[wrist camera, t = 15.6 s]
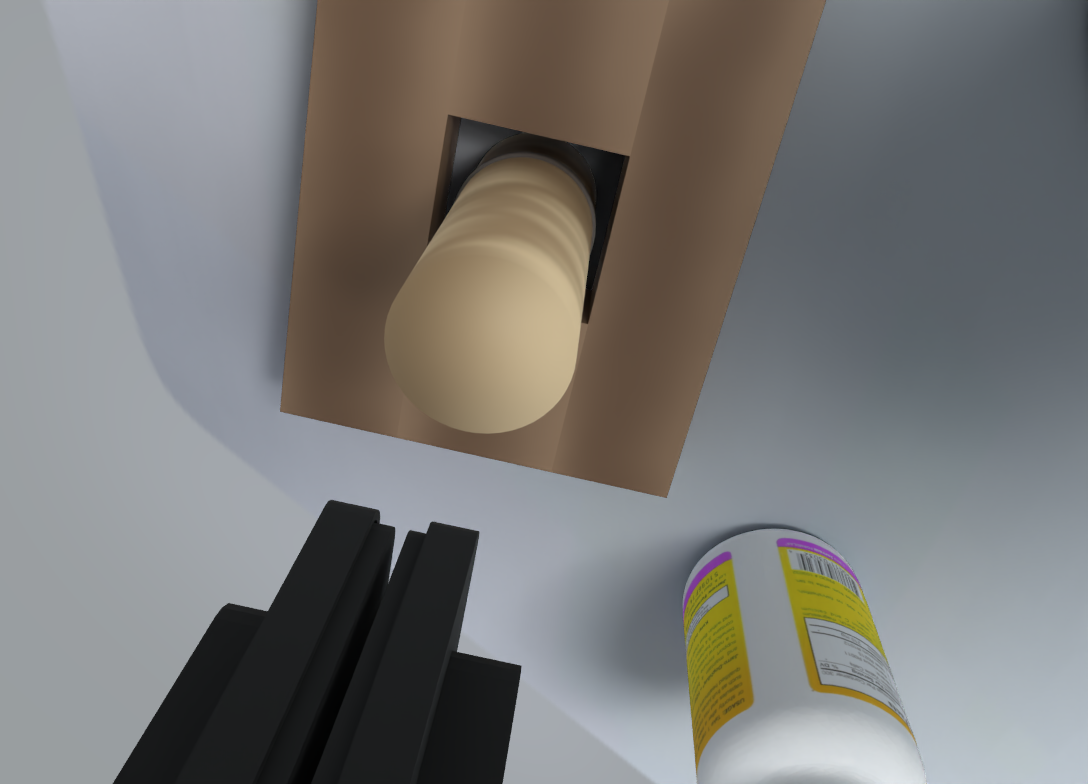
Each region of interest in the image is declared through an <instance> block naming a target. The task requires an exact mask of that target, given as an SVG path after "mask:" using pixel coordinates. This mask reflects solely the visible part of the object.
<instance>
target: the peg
mask: <svg viewBox="0 0 1088 784" xmlns="http://www.w3.org/2000/svg"><path fill="white" fill-rule="evenodd" d="M596 201H597V192H596V184H595V180H594V177H593V174H592V171H591V169H590V167H589V165H588V164H587V162H586V161H585V159H584V158H583V156H582V155H581V154H580V153H579V152H578V151H577V150H576V149H575V148H573V147H572V146H571V145H570V144H568V143H567V142H565V141H561V140H557V139H553V138H548V137H544V136H540V135H535V134H531V133H522V134H518V135H514V136H511V137H509V138H506V139H504V140H502V141H501V142H499V143H498V144H496V145H495V146H494V147H492V148H491V149H490V150H489V151H488V152H487V153H486V155H485V156H484V157H483V159H482V160H481V161H480V163H479V165H478V166H477V168H476V169H475V170H474V171H473V172H472V173H471V174H470V175H469V176H468V178H467V179H466V180H465V182H464V183H463V185H462V187H461V188H460V190H459V192H458V194H457V196H456V199H455V201H454V205H453V206H452V208H451V209H450V211H449V213H448V214H447V216H446V217H445V219H444V221H443V222H442V224H441V225H440V227H439V229H438V230H437V232H436V233H435V235H434V237H433V238H432V240H431V241H430V243H429V245H428V246H427V248H426V249H425V251H424V253H423V254H422V256H421V257H420V259H419V261H418V262H417V264H416V265H415V267H414V269H413V270H412V272H411V273H410V275H409V277H408V278H407V280H406V281H405V283H404V285H403V286H402V288H401V289H400V291H399V293H398V294H397V296H396V298H395V300H394V301H393V303H392V305H391V308H390V310H389V313H388V316H387V320H386V325H385V334H384V344H385V353H386V357H387V362H388V365H389V368H390V370H391V373H392V375H393V377H394V379H395V381H396V383H397V384H398V386H399V387H400V389H401V390H402V392H403V393H404V394H405V396H406V397H407V398H408V399H409V400H410V401H411V402H412V403H413V404H414V405H415V406H416V407H417V408H418V409H419V410H421V411H422V412H423V413H425V414H426V415H428V416H429V417H431V418H432V419H434V420H436V421H438V422H440V423H442V424H444V425H447V426H449V427H452V428H455V429H458V430H462V431H466V432H472V433H485V434H490V433H502V432H507V431H512V430H515V429H518V428H522V427H524V426H526V425H528V424H531V423H533V422H534V421H536V420H538V419H539V418H541V417H542V416H544V415H545V414H546V413H547V412H549V411H550V410H551V409H552V408H553V407H554V406H555V405H556V404H557V403H558V402H559V400H560V399H561V398H562V396H563V395H564V393H565V392H566V390H567V388H568V386H569V384H570V382H571V379H572V376H573V373H574V370H575V365H576V359H577V351H578V343H579V336H580V328H581V320H582V312H583V304H584V296H585V288H586V281H587V273H588V265H589V257H590V253H591V250H592V247H593V244H594V239H595V232H596V216H595V210H596Z"/></svg>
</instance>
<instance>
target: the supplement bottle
mask: <svg viewBox="0 0 1088 784" xmlns="http://www.w3.org/2000/svg"><path fill="white" fill-rule="evenodd" d="M683 623H684V635H685V647H686V658H687V671H688V681H689V694H690V705H691V717H692V728H693V740H694V750H695V763H696V775H697V784H927V781H926V774H925V769H924V765H923V762H922V759H921V756H920V753H919V750H918V747H917V744H916V741H915V738H914V735H913V732H912V730H911V727H910V724H909V722H908V719H907V716H906V713H905V710H904V707H903V704H902V702H901V699H900V696H899V693H898V691H897V687H896V684H895V682H894V679H893V676H892V673H891V670H890V667H889V664H888V662H887V659H886V656H885V653H884V650H883V648H882V645H881V642H880V639H879V636H878V633H877V630H876V627H875V625H874V622H873V619H872V616H871V613H870V610H869V608H868V605H867V602H866V599H865V597H864V594H863V591H862V589H861V586H860V584H859V582H858V579H857V577H856V575H855V573H854V571H853V570H852V568H851V566H850V565H849V563H848V562H847V561H846V560H845V559H844V558H843V556H842V555H841V554H840V553H838V552H837V551H836V550H835V549H834V548H833V547H831V546H830V545H829V544H827V543H825V542H824V541H822V540H820V539H818V538H816V537H813V536H811V535H808V534H805V533H802V532H798V531H793V530H788V529H761V530H755V531H750V532H746V533H742V534H739V535H736V536H734V537H731V538H729V539H727V540H725V541H723V542H721V543H720V544H718V545H716V546H715V547H714V548H712V549H711V550H710V551H708V552H707V553H706V554H705V555H704V556H703V557H702V558H701V559H700V561H699V562H698V563H697V564H696V566H695V567H694V569H693V570H692V572H691V574H690V576H689V578H688V580H687V583H686V586H685V590H684V595H683Z"/></svg>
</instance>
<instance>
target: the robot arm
mask: <svg viewBox="0 0 1088 784" xmlns="http://www.w3.org/2000/svg"><path fill="white" fill-rule="evenodd" d="M379 523H380V512H379V510H376V509H372V508H367V507H362V506H358V505H353V504H348V503H344V502H339V501H334V500H330V501H328V503H327V504H326V506H325V507H324V509H323V511H322V513H321V515H320V516H319V518H318V520H317V522H316V524H315V526H314V528H313V529H312V531H311V533H310V535H309V537H308V538H307V540H306V543H305V544H304V546H303V548H302V550H301V552H300V553H299V555H298V557H297V559H296V561H295V562H294V564H293V566H292V568H291V570H290V572H289V574H288V575H287V577H286V579H285V581H284V583H283V584H282V586H281V588H280V590H279V592H278V594H277V596H276V597H275V599H274V601H273V603H272V605H271V607H270V608H269V610H268V611H263V610H258V609H253V608H249V607H244V606H240V605H235V604H230V603H228V604H227V605H225V606H224V607H222V609H221V610H220V611H219V613H218V614H217V615H216V617H215V618H214V620H213V621H212V623H211V624H210V626H209V628H208V629H207V631H206V633H205V634H204V636H203V637H202V639H201V641H200V642H199V644H198V646H197V647H196V649H195V651H194V652H193V654H192V656H191V657H190V659H189V660H188V662H187V664H186V665H185V667H184V669H183V670H182V672H181V673H180V675H179V677H178V678H177V680H176V682H175V683H174V685H173V686H172V688H171V690H170V691H169V693H168V695H167V696H166V698H165V699H164V701H163V703H162V704H161V706H160V708H159V709H158V711H157V712H156V714H155V716H154V717H153V719H152V721H151V722H150V724H149V725H148V727H147V729H146V730H145V732H144V734H143V735H142V737H141V739H140V740H139V742H138V744H137V745H136V747H135V748H134V750H133V752H132V753H131V755H130V757H129V758H128V760H127V761H126V763H125V765H124V766H123V768H122V770H121V771H120V773H119V774H118V776H117V778H116V779H115V781H114V783H113V784H502V783H503V777H504V771H505V765H506V759H507V753H508V747H509V741H510V735H511V729H512V723H513V717H514V711H515V705H516V699H517V693H518V687H519V680H520V674H521V666H520V665H515V664H511V663H506V662H501V661H497V660H492V659H487V658H483V657H478V656H473V655H469V654H464V653H459V652H457V648H458V643H459V638H460V633H461V628H462V622H463V617H464V612H465V607H466V602H467V596H468V591H469V586H470V581H471V576H472V571H473V565H474V560H475V555H476V550H477V544H478V539H479V531H474V530H470V529H465V528H460V527H456V526H451V525H446V524H442V523H437V522H431V523H430V525H429V528H428V531H427V533H426V534H425V533H420V532H416V531H411V530H410V531H409V532H408V534H407V536H406V539H405V542H404V544H403V547H402V549H401V552H400V555H399V557H398V560H397V562H396V565H395V568H394V570H393V573H392V575H391V578H390V581H389V574H390V567H391V560H392V553H393V546H394V539H395V527H392V526H388V525H383V524H379ZM388 581H389V583H388Z"/></svg>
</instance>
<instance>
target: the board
mask: <svg viewBox="0 0 1088 784" xmlns="http://www.w3.org/2000/svg"><path fill="white" fill-rule="evenodd" d="M825 2H826V0H318V1H317V12H316V23H315V34H314V45H313V55H312V66H311V77H310V88H309V99H308V110H307V121H306V132H305V143H304V154H303V165H302V176H301V187H300V198H299V209H298V220H297V231H296V242H295V253H294V264H293V275H292V286H291V297H290V308H289V319H288V330H287V341H286V352H285V363H284V374H283V385H282V396H281V407H280V412H284V413H289V414H293V415H297V416H302V417H306V418H311V419H315V420H320V421H324V422H329V423H333V424H338V425H342V426H347V427H351V428H356V429H360V430H365V431H369V432H374V433H378V434H383V435H387V436H392V437H396V438H401V439H405V440H410V441H414V442H418V443H423V444H427V445H432V446H436V447H441V448H445V449H450V450H454V451H459V452H463V453H468V454H472V455H477V456H481V457H486V458H490V459H495V460H499V461H504V462H508V463H513V464H517V465H522V466H526V467H530V468H535V469H539V470H544V471H548V472H553V473H557V474H562V475H566V476H571V477H575V478H580V479H584V480H589V481H593V482H598V483H602V484H607V485H611V486H616V487H620V488H625V489H629V490H634V491H638V492H643V493H647V494H651V495H656V496H660V497H665V498H667V495H668V492H669V489H670V486H671V483H672V479H673V476H674V473H675V470H676V467H677V464H678V461H679V458H680V454H681V451H682V448H683V445H684V442H685V439H686V436H687V433H688V430H689V426H690V423H691V420H692V417H693V414H694V411H695V408H696V405H697V401H698V398H699V395H700V392H701V389H702V386H703V383H704V380H705V377H706V373H707V370H708V367H709V364H710V361H711V358H712V355H713V352H714V348H715V345H716V342H717V339H718V336H719V333H720V330H721V327H722V324H723V320H724V317H725V314H726V311H727V308H728V305H729V302H730V299H731V295H732V292H733V289H734V286H735V283H736V280H737V277H738V274H739V271H740V267H741V264H742V261H743V258H744V255H745V252H746V249H747V246H748V242H749V239H750V236H751V233H752V230H753V227H754V224H755V221H756V218H757V214H758V211H759V208H760V205H761V202H762V199H763V196H764V193H765V189H766V186H767V183H768V180H769V177H770V174H771V171H772V168H773V165H774V161H775V158H776V155H777V152H778V149H779V146H780V143H781V140H782V136H783V133H784V130H785V127H786V124H787V121H788V118H789V115H790V111H791V108H792V105H793V102H794V99H795V96H796V93H797V90H798V87H799V83H800V80H801V77H802V74H803V71H804V68H805V65H806V62H807V58H808V55H809V52H810V49H811V46H812V43H813V40H814V37H815V34H816V30H817V27H818V24H819V21H820V18H821V15H822V12H823V9H824V5H825ZM461 118H466V119H470V120H474V121H479V122H483V123H487V124H492V125H496V126H500V127H505V128H509V129H513V130H518V131H522V132H527V133H531V134H535V135H540V136H544V137H548V138H553V139H557V140H561V141H566V142H570V143H574V144H579V145H583V146H587V147H592V148H596V149H600V150H605V151H609V152H613V153H618V154H622V155H625V158H624V162H623V166H622V170H621V174H620V178H619V182H618V186H617V190H616V194H615V199H614V203H613V207H612V211H611V215H610V219H609V223H608V227H607V231H606V235H605V239H604V243H603V247H602V251H601V255H600V259H599V263H598V267H597V271H596V275H595V279H594V283H593V287H592V290H590V289H586V288H585V296H584V304H583V312H582V320H581V328H580V336H579V343H578V351H577V359H576V365H575V370H574V373H573V376H572V379H571V382H570V384H569V386H568V388H567V390H566V392H565V393H564V395H563V396H562V398H561V399H560V400H559V402H558V403H557V404H556V405H555V406H554V407H553V408H552V409H551V410H550V411H549V412H547V413H546V414H545V415H544V416H542V417H541V418H539V419H538V420H536V421H534V422H533V423H531V424H528V425H526V426H524V427H522V428H518V429H515V430H512V431H507V432H502V433H490V434H485V433H472V432H466V431H462V430H458V429H455V428H452V427H449V426H447V425H444V424H442V423H440V422H438V421H436V420H434V419H432V418H431V417H429V416H428V415H426V414H425V413H423V412H422V411H421V410H419V409H418V408H417V407H416V406H415V405H414V404H413V403H412V402H411V401H410V400H409V399H408V398H407V397H406V396H405V394H404V393H403V392H402V390H401V389H400V387H399V386H398V384H397V383H396V381H395V379H394V377H393V375H392V373H391V370H390V368H389V365H388V362H387V357H386V353H385V344H384V334H385V325H386V320H387V316H388V313H389V310H390V308H391V305H392V303H393V301H394V300H395V298H396V296H397V294H398V293H399V291H400V289H401V288H402V286H403V285H404V283H405V281H406V280H407V278H408V277H409V275H410V273H411V272H412V270H413V269H414V267H415V265H416V264H417V262H418V261H419V259H420V257H421V256H422V254H423V253H424V251H425V249H426V248H427V246H428V245H429V243H430V241H431V240H432V238H433V237H434V235H435V233H436V232H437V230H438V229H439V227H440V225H441V224H442V222H443V221H444V219H445V213H446V207H447V201H448V195H449V189H450V183H451V177H452V171H453V164H454V158H455V152H456V146H457V140H458V134H459V128H460V122H461Z"/></svg>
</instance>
